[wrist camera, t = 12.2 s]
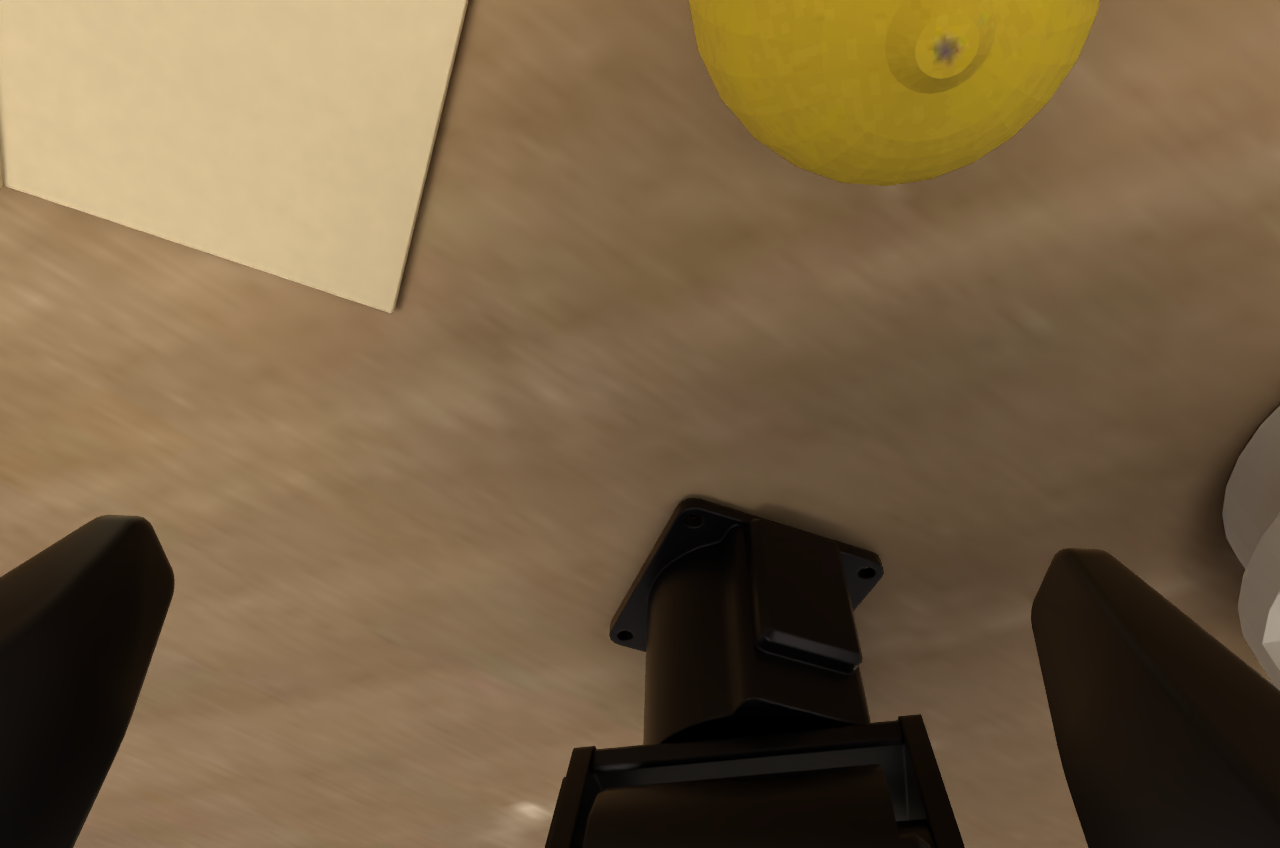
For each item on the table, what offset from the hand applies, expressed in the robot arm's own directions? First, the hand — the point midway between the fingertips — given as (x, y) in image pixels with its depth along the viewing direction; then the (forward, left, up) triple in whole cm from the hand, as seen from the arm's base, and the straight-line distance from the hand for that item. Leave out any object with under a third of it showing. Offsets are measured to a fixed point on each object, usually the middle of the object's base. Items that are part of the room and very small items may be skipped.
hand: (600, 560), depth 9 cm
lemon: (+5, -2, -12) cm, 13 cm away
